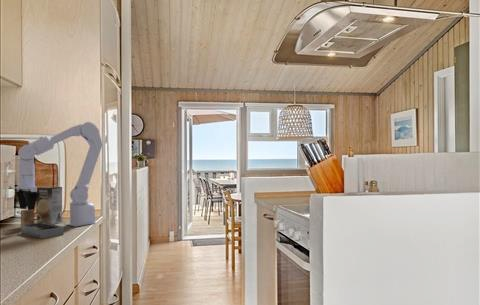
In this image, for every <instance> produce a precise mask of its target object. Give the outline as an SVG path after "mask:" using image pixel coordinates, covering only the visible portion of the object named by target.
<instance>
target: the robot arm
mask: <svg viewBox="0 0 480 305" xmlns="http://www.w3.org/2000/svg"><path fill="white" fill-rule="evenodd" d="M71 137H82V138H83V139H84V140H85V141H86V142H87V143H88V146H89V149H88V151H87V153H86V157H85V159H84V162H83V165H82V167H81V170H80V174H79V176H78V180H77V181H76V183H75V186H74V188H73V189H72V190H70V193H69V195H70V196H69V197H70V199H71V200H72V201H71V202H70V203H69V220H70V222H68V223H67V222H66V226H70V227H71V226H72V227H80V226H86V225H88V226H89V225H93V224H97V222H96V219H95V218H96V209H95V208H96V207H95V205H94V204H93V202H89V201H87V200H88V198H89V193H88V192H89V189H90V183H91V180H92V176H93V173H94V171H95V168H96V165H97V162H98V159H99V156H100V153H101V151H102V146H103V141H102V137H101V134H100V129H99V128H98V127H97V125H96V124H95V123H94V122H92V121H90V122H89V121H86V122H84V123H83V124H81V123H80V124H78V125H74V126H71V127H69V128H67V129H65V130H63V131H61V132H60V133H57V134H55V135H53V136H51V137H50V136H46V135H45V136H42V135H41V136H40V137H38V139H36V140H33V141H32V142H30V141H29V142H27V144H24V145H23V146H20V148H19V149H18V152H17V154H18V157H19V158H18V168H17V170H18V185H17V186H15V187H14V188H15V189H16V190H17V191H13V193H14V195H15V196H16V198H17V202H18V206H19V208H20V209H22V210H23V209H28V210H34V211H35V209H36V200H37V198H38V196H39V194H40V192H37V188H38V186H36V169H35V168H36V166H35V162H34V161H35V160H34V159H35V158H34V157H35V156H40V155H41V154H44V153H46V152H48V151H50V150H53V149H54V146H55V144H58V143H60V142H62V141H64V140H67V139H69V138H71Z"/></svg>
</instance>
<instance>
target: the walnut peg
mask: <svg viewBox="0 0 480 305" xmlns="http://www.w3.org/2000/svg"><path fill="white" fill-rule="evenodd" d="M28 224H35V209H34V210H28V208H26V209H22V210H20V230H21V231H22V225H28Z"/></svg>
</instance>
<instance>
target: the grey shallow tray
mask: <svg viewBox="0 0 480 305" xmlns="http://www.w3.org/2000/svg"><path fill="white" fill-rule="evenodd" d="M64 230H65V229H64V226H62V225H57V224H49V223H45V222H42V223H35V222H34V224H28V225H22V230H21V233H22V234H23V235H27V236H30V237H34V238H36V239H40V240H42V239H48V238H55V237H58V236H59V237H60V236H64Z"/></svg>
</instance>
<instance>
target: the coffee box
mask: <svg viewBox="0 0 480 305" xmlns="http://www.w3.org/2000/svg"><path fill="white" fill-rule="evenodd" d="M37 192H40V194H39V196H38V198H37V200H36V204H35V209H36V211H35V213H36V215H35V216H36V223H42V222H45V223H49V224H53V225H57V224H61V222H62V223H63V187H62V186H51V185H50V186H49V185H48V186H39V187H38V186H37Z"/></svg>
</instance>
